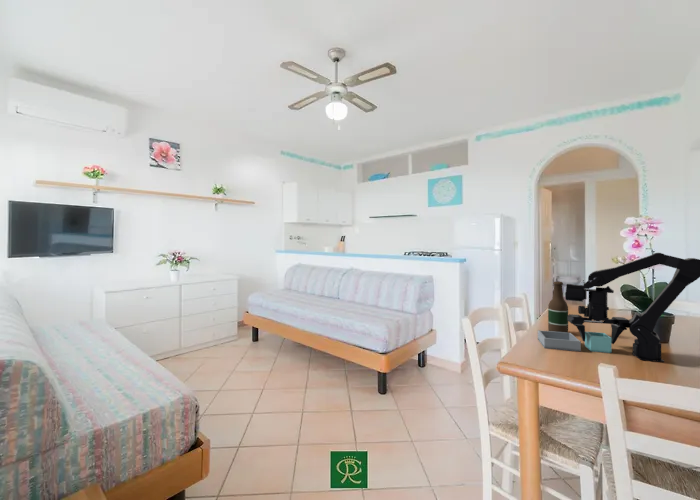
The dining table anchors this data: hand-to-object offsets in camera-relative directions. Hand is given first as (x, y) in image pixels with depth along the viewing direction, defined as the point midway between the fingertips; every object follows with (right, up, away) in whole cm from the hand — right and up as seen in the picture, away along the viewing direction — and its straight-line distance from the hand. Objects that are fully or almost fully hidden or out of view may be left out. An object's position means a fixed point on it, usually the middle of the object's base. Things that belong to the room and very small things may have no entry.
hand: (597, 342), depth 117 cm
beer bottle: (0, -3, +23) cm, 23 cm away
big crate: (-12, -3, +6) cm, 13 cm away
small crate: (0, -3, 0) cm, 3 cm away
